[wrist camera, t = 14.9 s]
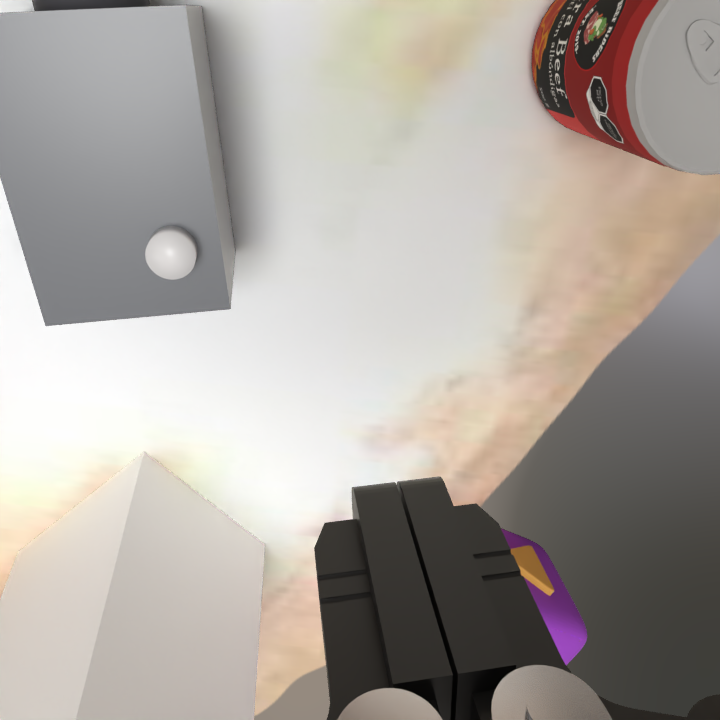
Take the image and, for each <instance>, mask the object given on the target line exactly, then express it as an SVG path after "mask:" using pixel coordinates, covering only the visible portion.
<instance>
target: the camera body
mask: <svg viewBox="0 0 720 720" xmlns="http://www.w3.org/2000/svg"><path fill="white" fill-rule="evenodd" d="M32 2H33V6H34V10H35V11H31V12H8V13H0V178H1V181H2V184H3V187H4V191H5V194H6V197H7V201H8V204H9V207H10V210H11V214H12V217H13V220H14V224H15V227H16V230H17V233H18V237H19V240H20V243H21V247H22V250H23V253H24V256H25V260H26V263H27V266H28V270H29V273H30V276H31V279H32V283H33V286H34V289H35V293H36V296H37V299H38V302H39V306H40V309H41V312H42V316H43V319H44V322H45V325H46V326H51V325H62V324H73V323H84V322H95V321H106V320H117V319H128V318H139V317H149V316H160V315H171V314H182V313H193V312H204V311H215V310H226V309H231V297H232V286H233V274H234V263H235V244H234V237H233V229H232V222H231V215H230V208H229V200H228V193H227V186H226V179H225V171H224V164H223V157H222V150H221V142H220V135H219V128H218V121H217V113H216V106H215V99H214V92H213V84H212V77H211V70H210V63H209V55H208V48H207V41H206V34H205V26H204V19H203V12H202V6H193V5H172V6H150V5H149V0H32Z"/></svg>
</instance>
